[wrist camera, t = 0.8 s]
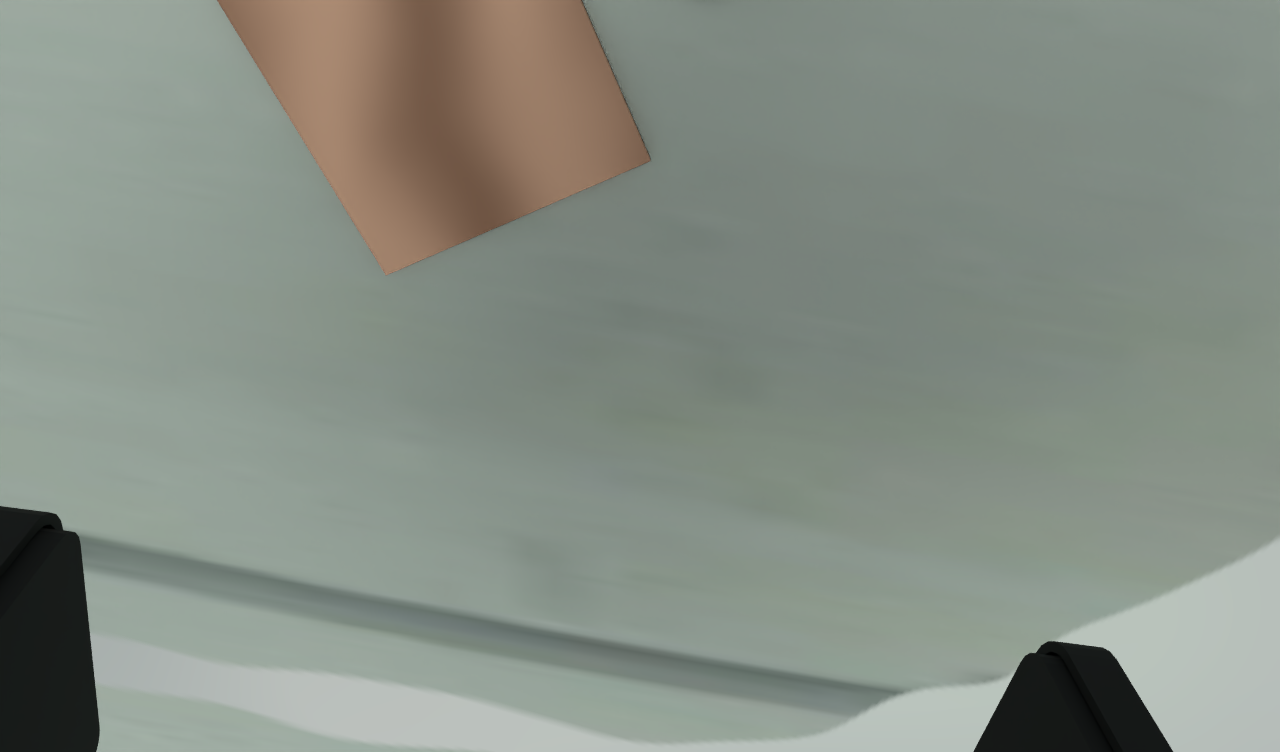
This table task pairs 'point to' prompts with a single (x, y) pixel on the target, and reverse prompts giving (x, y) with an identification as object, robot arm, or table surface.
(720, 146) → the table surface
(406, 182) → the game track
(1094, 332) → the table surface
